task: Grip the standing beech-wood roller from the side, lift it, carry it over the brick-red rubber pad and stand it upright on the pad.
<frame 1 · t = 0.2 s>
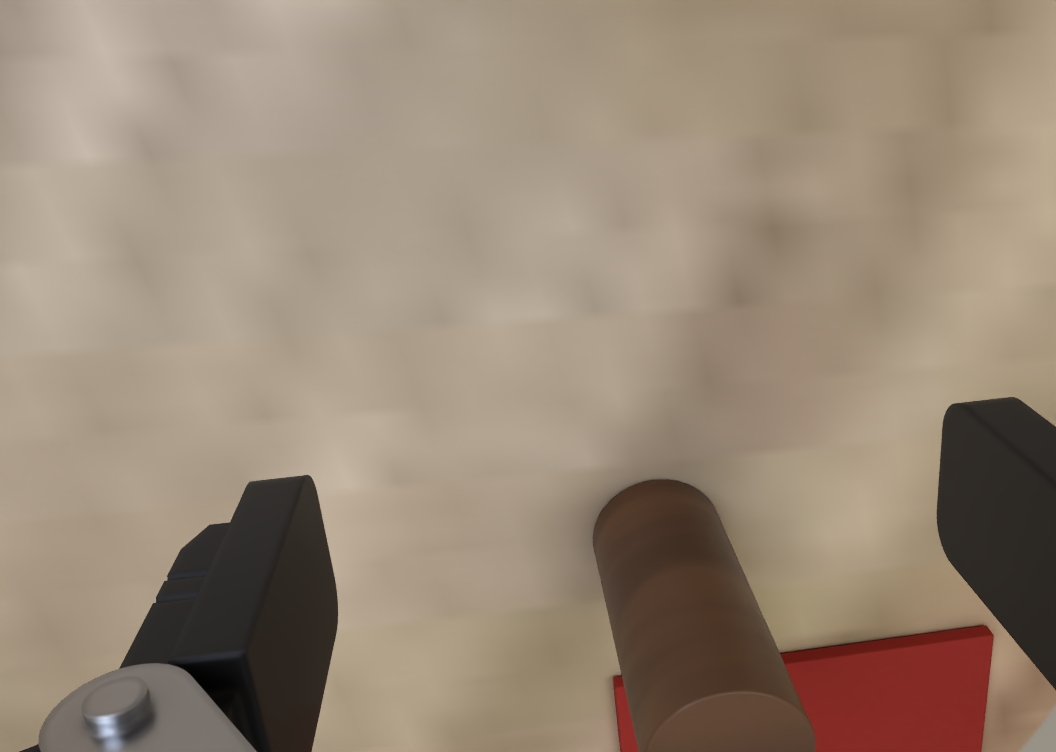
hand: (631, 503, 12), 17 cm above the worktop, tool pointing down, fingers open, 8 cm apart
roller: (656, 534, 33), on the worktop
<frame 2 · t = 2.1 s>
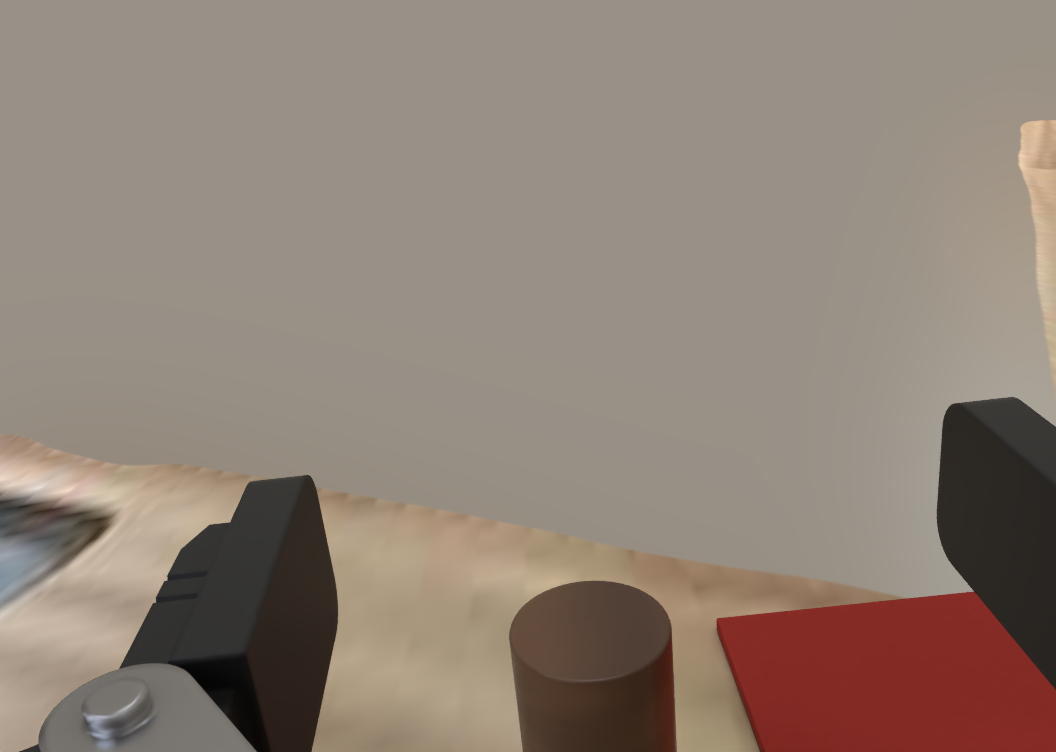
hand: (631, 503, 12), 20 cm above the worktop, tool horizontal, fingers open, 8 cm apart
red pad: (981, 727, 35), on the worktop
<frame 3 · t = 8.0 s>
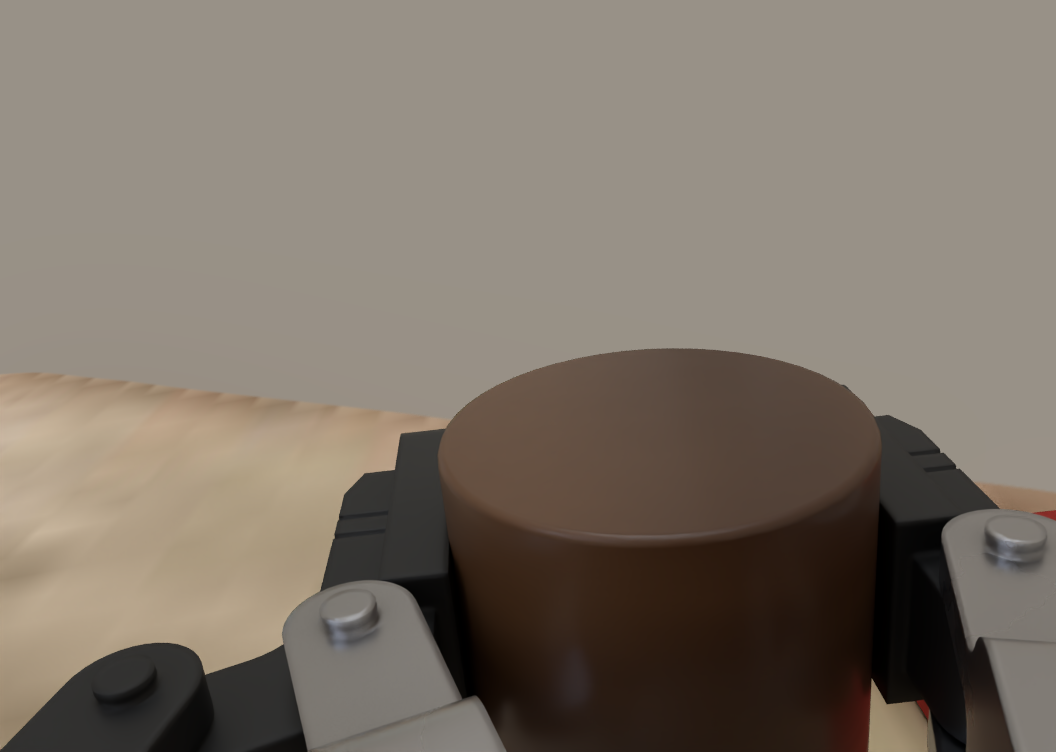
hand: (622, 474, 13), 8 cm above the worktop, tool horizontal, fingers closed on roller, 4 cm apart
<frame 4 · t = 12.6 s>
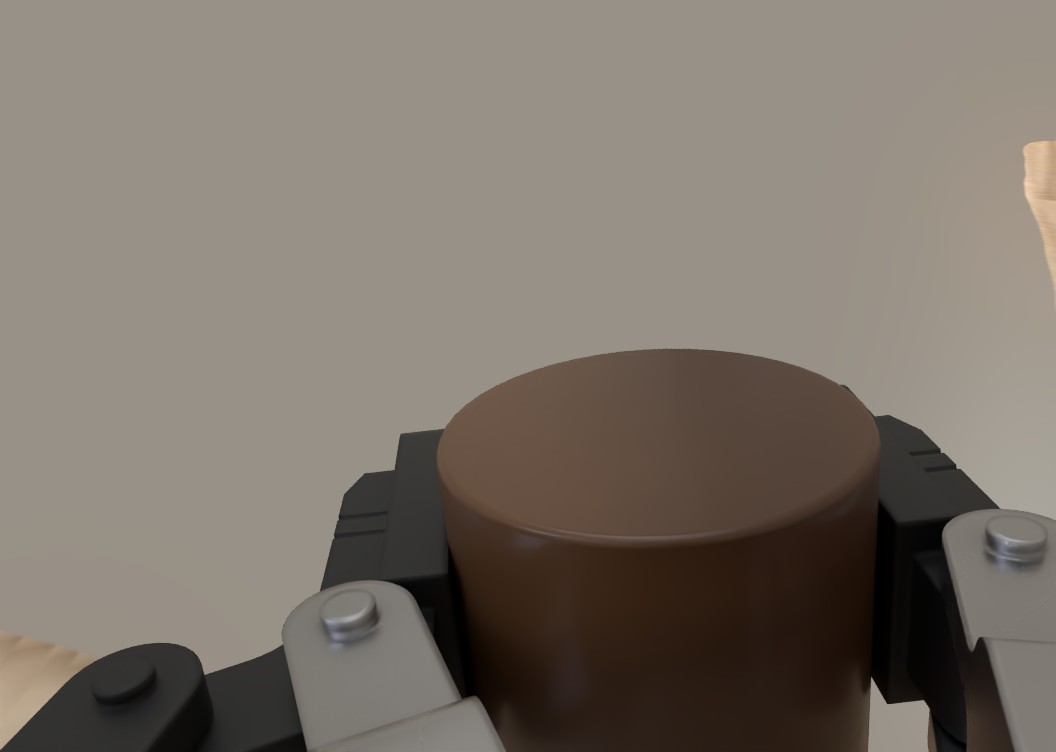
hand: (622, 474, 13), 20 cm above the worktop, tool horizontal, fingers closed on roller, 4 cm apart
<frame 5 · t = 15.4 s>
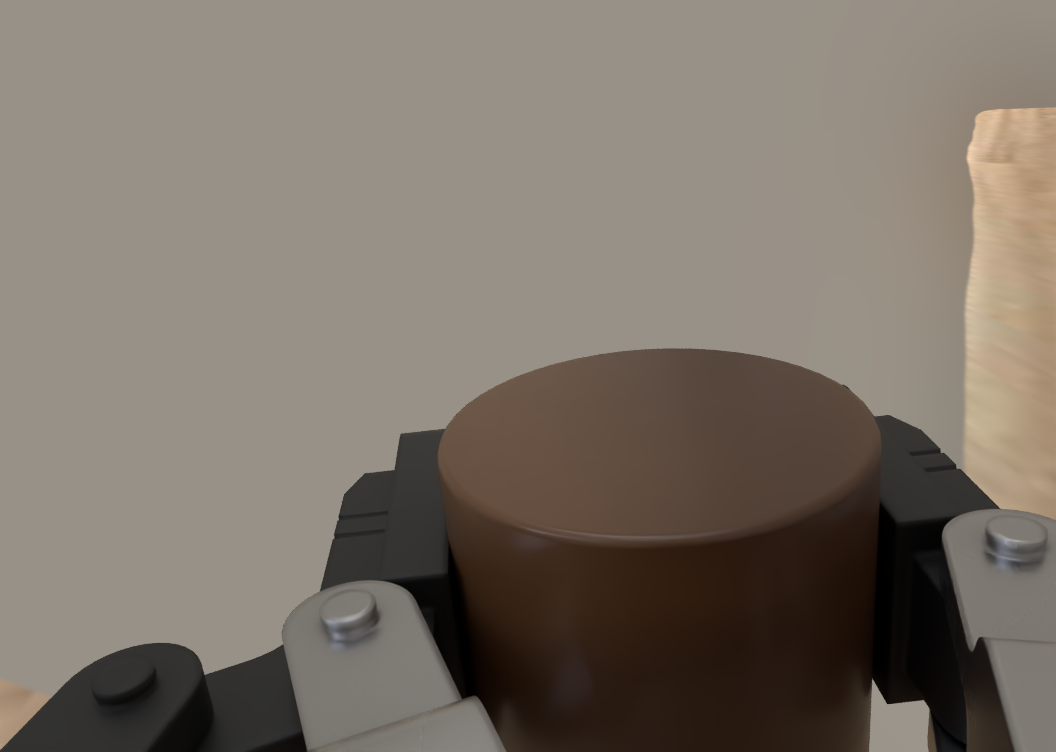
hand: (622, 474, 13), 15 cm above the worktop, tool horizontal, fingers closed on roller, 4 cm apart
when the fingers open (9 cm above the worktop, at t = 17.5 s): roller stays where it is, resting on red pad.
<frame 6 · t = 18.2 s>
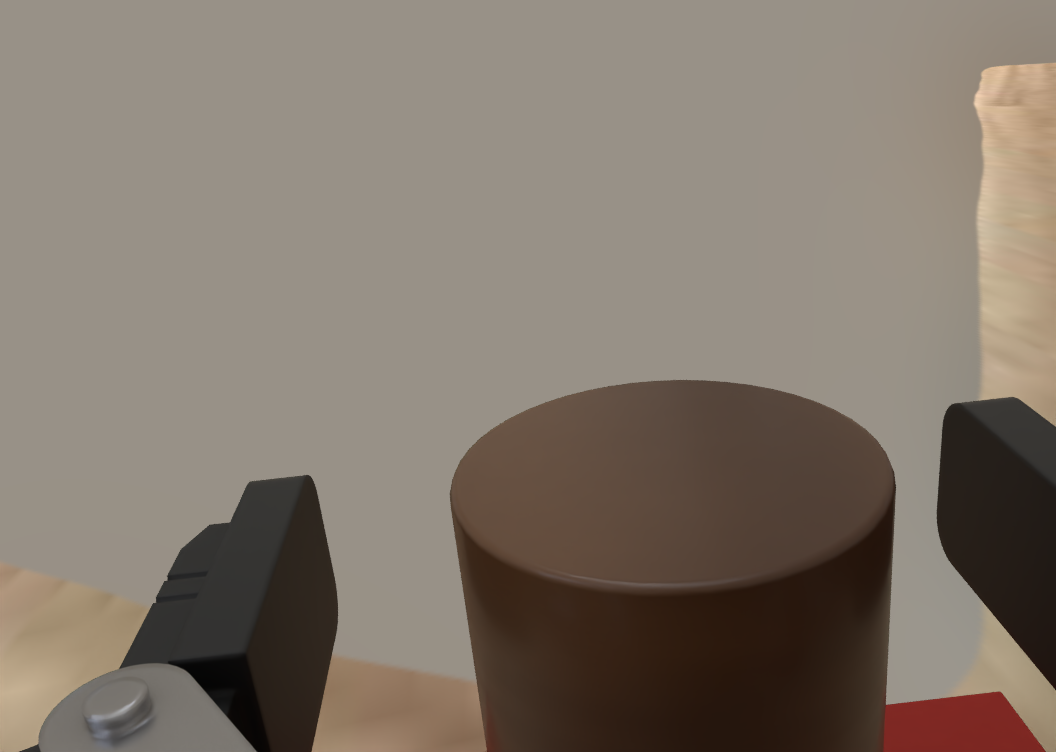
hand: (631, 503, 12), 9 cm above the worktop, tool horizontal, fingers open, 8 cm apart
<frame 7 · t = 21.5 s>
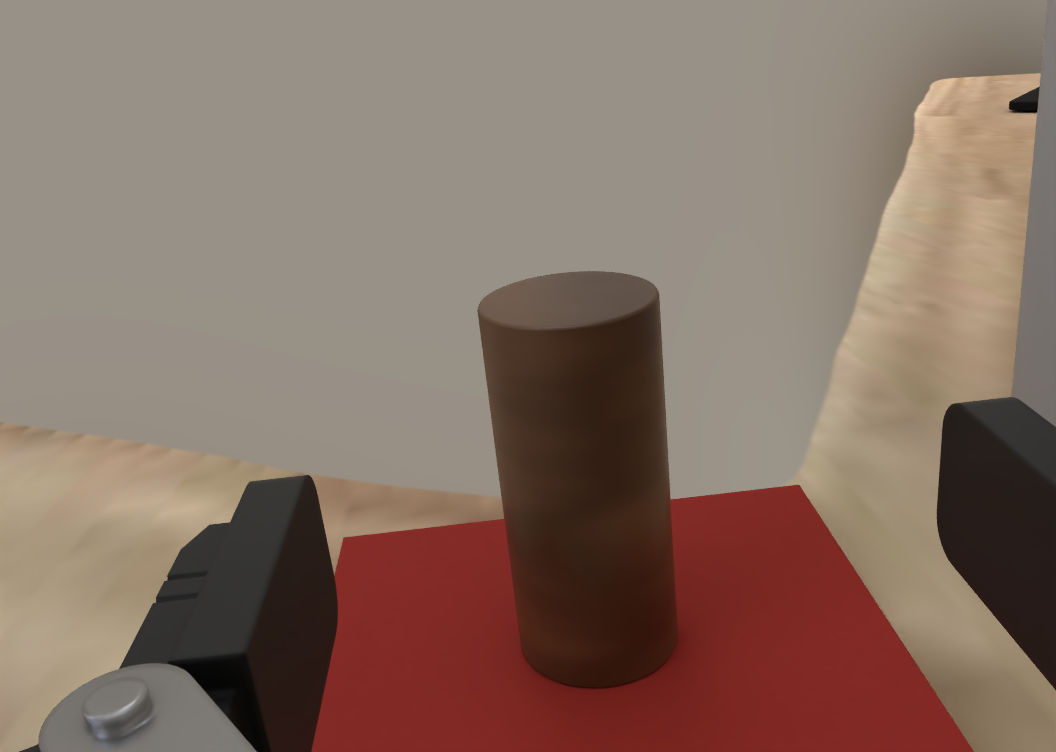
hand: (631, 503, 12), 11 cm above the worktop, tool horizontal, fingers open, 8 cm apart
red pad: (596, 651, 28), on the worktop
roller: (598, 636, 27), point 1 cm above the worktop, touching red pad
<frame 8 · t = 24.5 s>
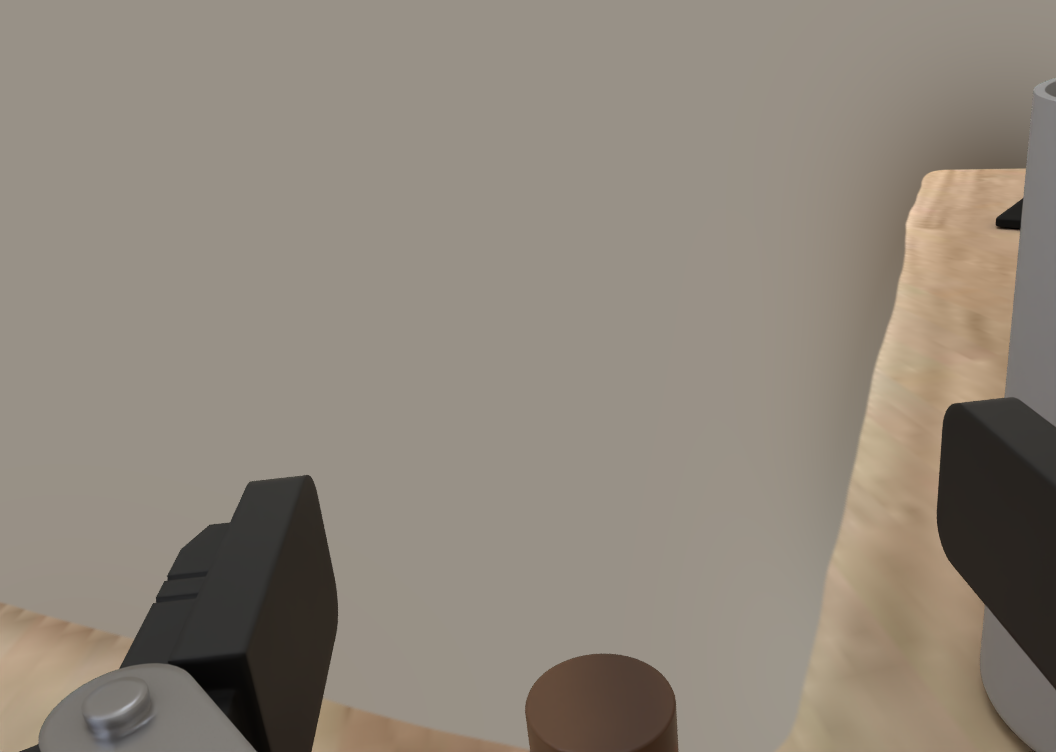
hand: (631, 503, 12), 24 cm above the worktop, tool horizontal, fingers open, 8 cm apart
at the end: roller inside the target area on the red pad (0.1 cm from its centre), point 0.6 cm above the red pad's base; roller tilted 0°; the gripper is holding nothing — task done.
